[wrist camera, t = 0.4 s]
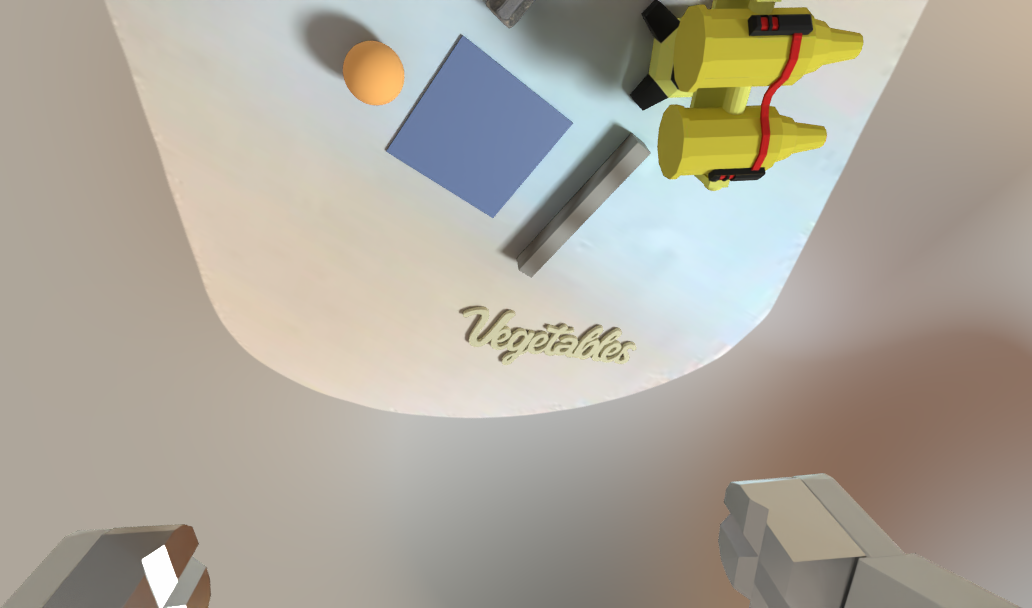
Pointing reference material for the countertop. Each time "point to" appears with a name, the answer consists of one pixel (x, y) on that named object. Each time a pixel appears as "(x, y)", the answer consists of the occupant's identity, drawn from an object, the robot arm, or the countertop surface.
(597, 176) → the rail
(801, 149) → the toy
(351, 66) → the orange ball
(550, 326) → the decorative sign
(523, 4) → the pipe
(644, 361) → the countertop surface
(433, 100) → the blue mark
